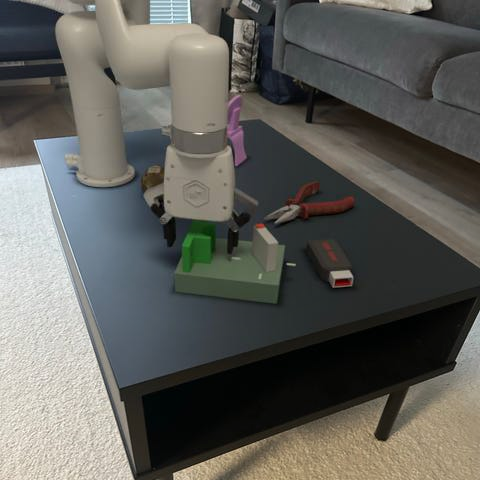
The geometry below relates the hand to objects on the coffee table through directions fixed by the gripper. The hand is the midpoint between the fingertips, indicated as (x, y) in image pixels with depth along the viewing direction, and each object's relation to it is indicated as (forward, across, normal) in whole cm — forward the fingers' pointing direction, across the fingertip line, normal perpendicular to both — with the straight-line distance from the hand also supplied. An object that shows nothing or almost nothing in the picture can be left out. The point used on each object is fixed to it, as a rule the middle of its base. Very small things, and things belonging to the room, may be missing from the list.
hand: (201, 246), depth 79 cm
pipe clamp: (+2, 0, 0) cm, 2 cm away
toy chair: (+5, -5, +51) cm, 51 cm away
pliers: (+5, +15, +28) cm, 32 cm away
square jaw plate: (+1, +10, 0) cm, 10 cm away
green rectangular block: (+5, +6, 0) cm, 8 cm away
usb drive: (+5, +21, +6) cm, 23 cm away
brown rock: (+5, -15, +28) cm, 32 cm away
